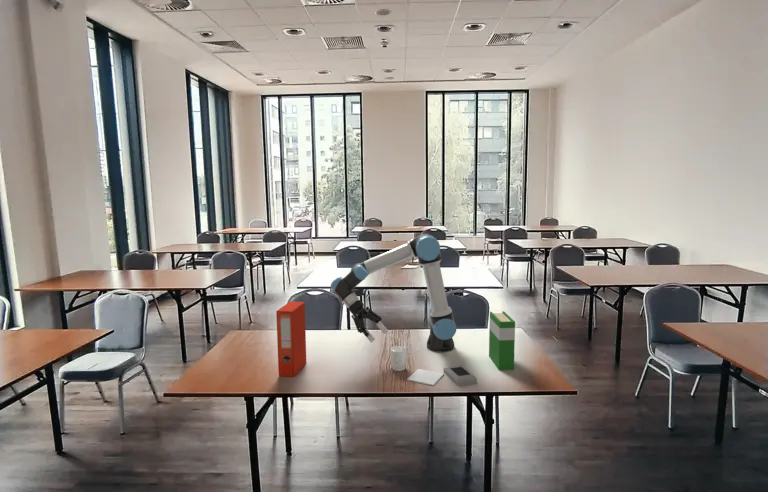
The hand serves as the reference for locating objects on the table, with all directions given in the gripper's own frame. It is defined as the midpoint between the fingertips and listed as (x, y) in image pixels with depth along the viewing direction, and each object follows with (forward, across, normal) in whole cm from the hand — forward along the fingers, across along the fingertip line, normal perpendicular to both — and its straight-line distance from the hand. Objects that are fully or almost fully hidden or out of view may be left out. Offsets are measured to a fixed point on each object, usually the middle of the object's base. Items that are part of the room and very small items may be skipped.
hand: (379, 336), depth 227 cm
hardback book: (+48, -29, +27) cm, 62 cm away
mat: (+29, +4, +8) cm, 30 cm away
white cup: (+18, 0, -3) cm, 18 cm away
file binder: (-15, +24, -36) cm, 46 cm away
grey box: (+39, -3, +18) cm, 43 cm away
